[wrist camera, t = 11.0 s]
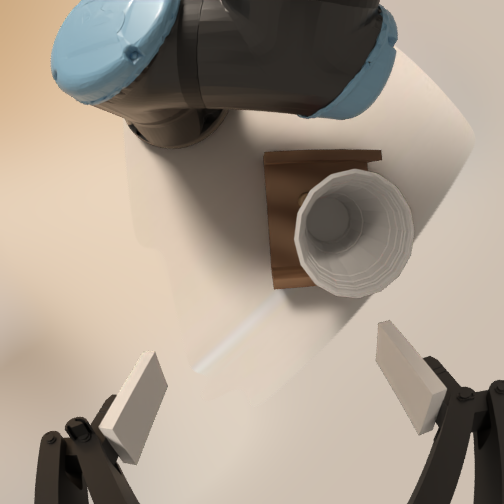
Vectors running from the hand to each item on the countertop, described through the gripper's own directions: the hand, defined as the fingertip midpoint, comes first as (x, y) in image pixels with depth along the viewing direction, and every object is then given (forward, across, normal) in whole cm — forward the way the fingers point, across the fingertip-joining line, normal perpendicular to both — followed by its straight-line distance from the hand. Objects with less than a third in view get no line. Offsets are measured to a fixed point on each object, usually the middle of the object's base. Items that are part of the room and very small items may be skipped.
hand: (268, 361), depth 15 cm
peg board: (+25, +8, +4) cm, 27 cm away
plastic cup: (+20, +8, +4) cm, 23 cm away
